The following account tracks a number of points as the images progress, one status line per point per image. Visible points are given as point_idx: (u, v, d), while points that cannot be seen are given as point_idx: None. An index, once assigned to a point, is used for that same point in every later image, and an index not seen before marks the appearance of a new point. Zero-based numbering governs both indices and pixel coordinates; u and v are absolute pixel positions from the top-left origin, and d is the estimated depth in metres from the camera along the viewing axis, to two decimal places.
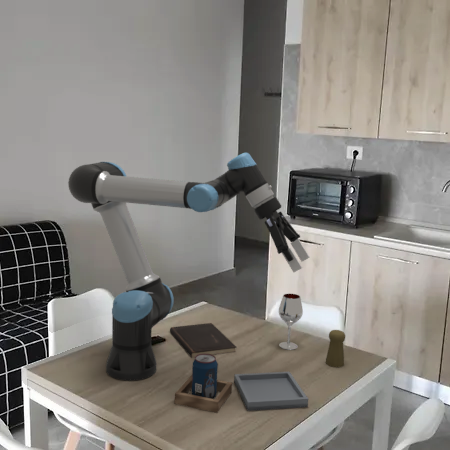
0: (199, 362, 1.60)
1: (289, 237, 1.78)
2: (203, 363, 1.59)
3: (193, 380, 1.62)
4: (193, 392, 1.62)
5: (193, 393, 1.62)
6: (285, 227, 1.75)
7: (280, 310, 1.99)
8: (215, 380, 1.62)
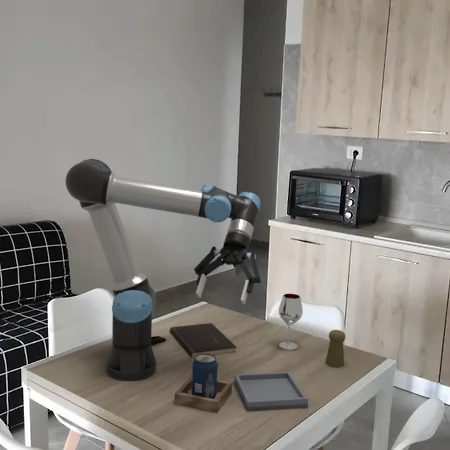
0: (199, 362, 1.60)
1: (207, 270, 1.75)
2: (203, 363, 1.59)
3: (193, 380, 1.62)
4: (193, 392, 1.62)
5: (193, 393, 1.62)
6: (220, 264, 1.77)
7: (280, 310, 1.99)
8: (215, 380, 1.62)
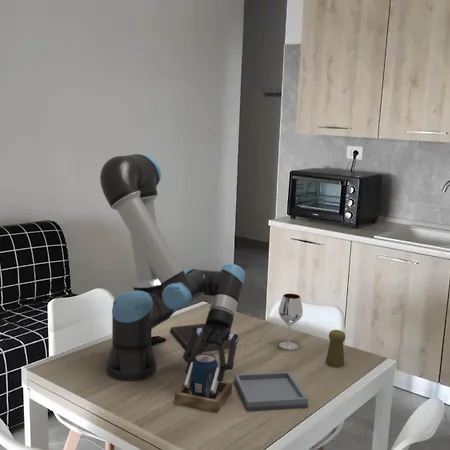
0: (199, 362, 1.60)
1: None
2: (203, 363, 1.59)
3: (193, 380, 1.62)
4: (193, 392, 1.62)
5: (193, 393, 1.62)
6: (206, 345, 1.68)
7: (280, 310, 1.99)
8: None
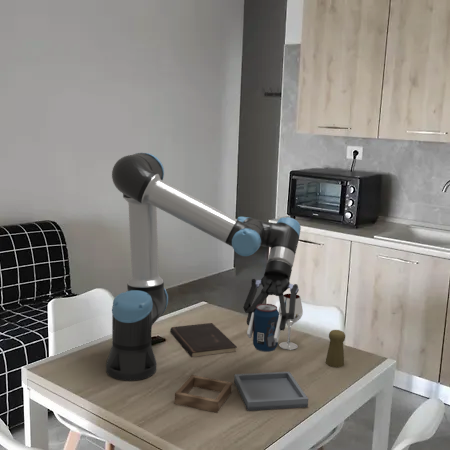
0: (261, 311, 1.60)
1: None
2: (265, 311, 1.59)
3: (255, 329, 1.62)
4: (255, 342, 1.62)
5: (255, 342, 1.62)
6: (265, 296, 1.68)
7: (280, 310, 1.99)
8: None
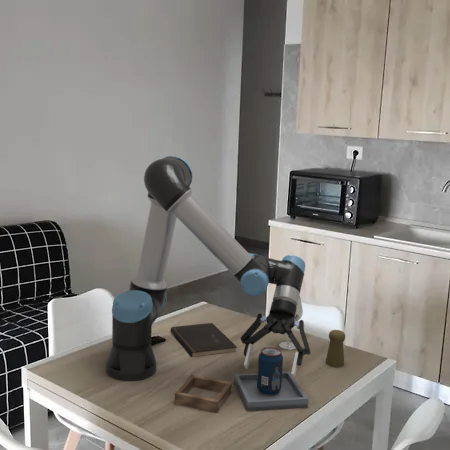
0: (266, 355, 1.64)
1: (254, 339, 1.70)
2: (270, 356, 1.63)
3: (259, 373, 1.65)
4: (259, 385, 1.66)
5: (259, 386, 1.66)
6: (267, 332, 1.72)
7: None
8: (281, 373, 1.65)
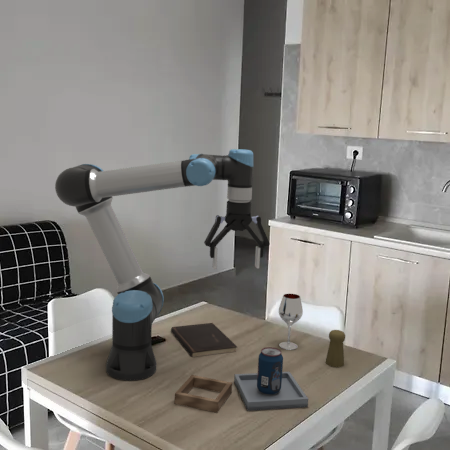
0: (266, 355, 1.64)
1: None
2: (270, 356, 1.63)
3: (259, 373, 1.65)
4: (259, 385, 1.66)
5: (259, 386, 1.66)
6: None
7: (280, 310, 1.99)
8: (281, 373, 1.65)
